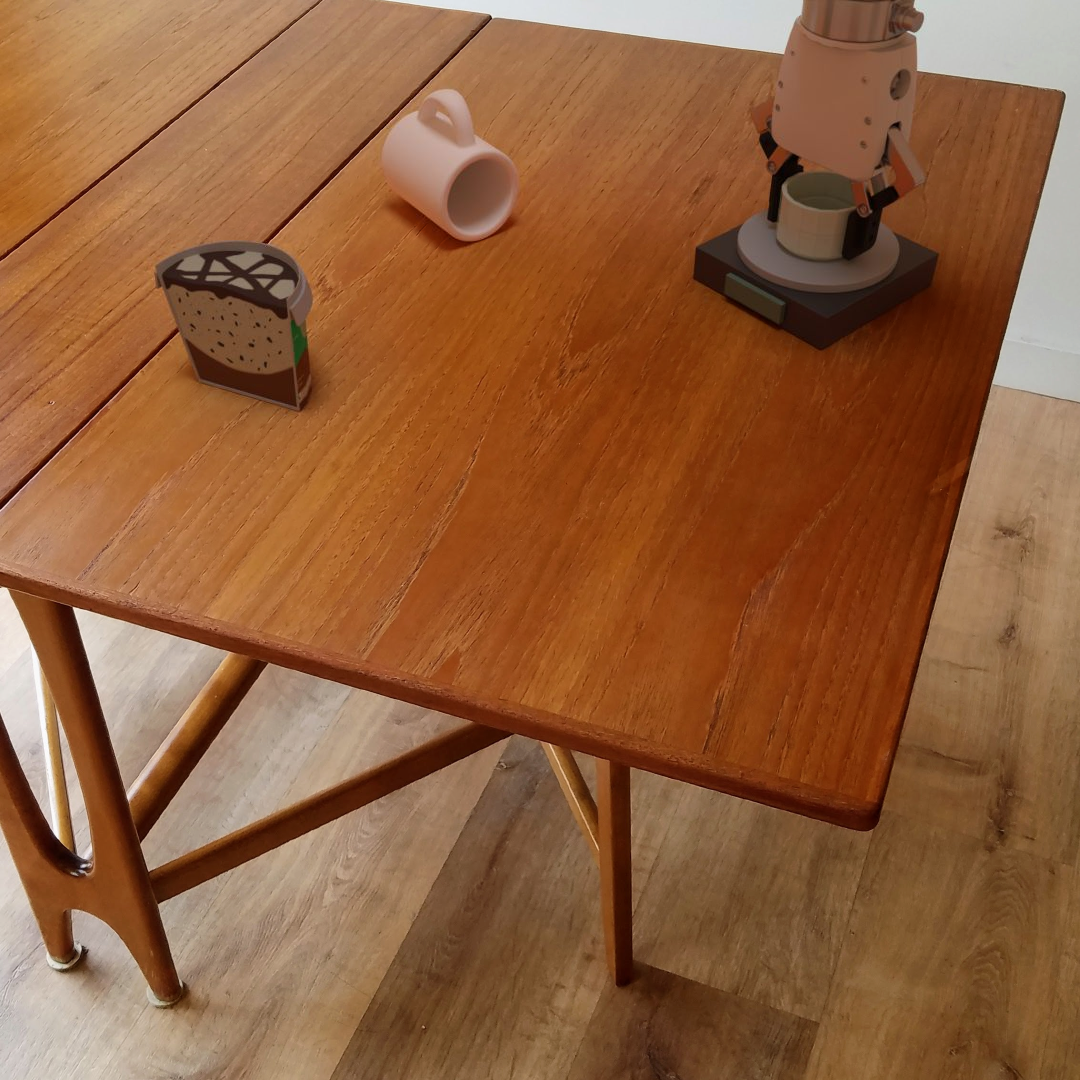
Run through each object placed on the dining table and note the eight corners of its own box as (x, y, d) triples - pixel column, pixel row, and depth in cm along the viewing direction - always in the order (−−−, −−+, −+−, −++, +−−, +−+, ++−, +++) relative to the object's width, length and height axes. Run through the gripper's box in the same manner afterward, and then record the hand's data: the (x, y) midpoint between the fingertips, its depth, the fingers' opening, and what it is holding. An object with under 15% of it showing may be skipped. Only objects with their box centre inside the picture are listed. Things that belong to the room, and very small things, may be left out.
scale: (931, 285, 96) (941, 244, 93) (816, 353, 90) (824, 311, 87) (802, 222, 104) (809, 182, 101) (688, 280, 97) (691, 240, 95)
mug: (460, 182, 111) (450, 56, 102) (521, 225, 105) (516, 95, 96) (385, 208, 107) (369, 80, 99) (444, 254, 101) (432, 123, 93)
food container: (360, 371, 89) (341, 257, 82) (317, 416, 85) (293, 301, 78) (229, 335, 93) (201, 223, 86) (182, 377, 89) (148, 263, 82)
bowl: (877, 242, 94) (887, 192, 91) (822, 273, 91) (831, 221, 88) (812, 211, 98) (820, 161, 94) (758, 239, 95) (764, 189, 91)
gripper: (993, 30, 78) (935, 260, 91) (797, -35, 88) (769, 181, 100) (924, 61, 75) (874, 295, 87) (729, -11, 84) (709, 210, 97)
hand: (819, 233), depth 94 cm, fingers open, 7 cm apart
